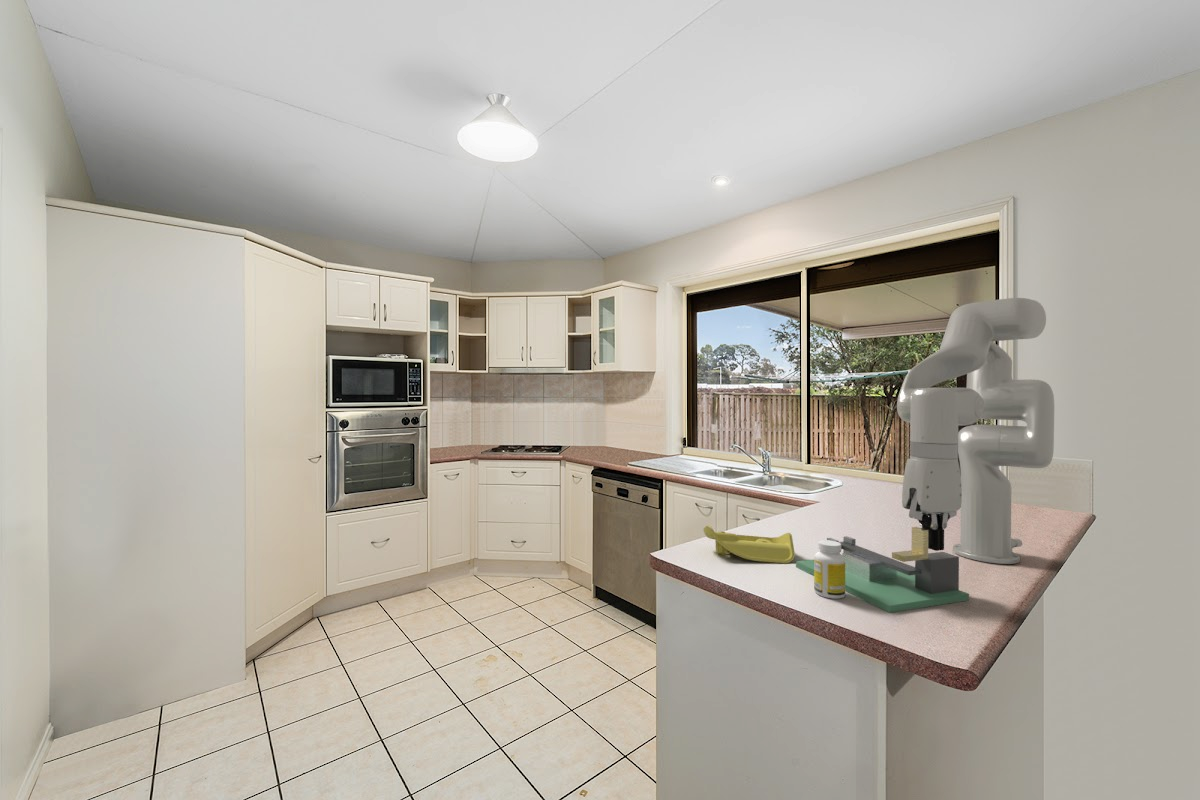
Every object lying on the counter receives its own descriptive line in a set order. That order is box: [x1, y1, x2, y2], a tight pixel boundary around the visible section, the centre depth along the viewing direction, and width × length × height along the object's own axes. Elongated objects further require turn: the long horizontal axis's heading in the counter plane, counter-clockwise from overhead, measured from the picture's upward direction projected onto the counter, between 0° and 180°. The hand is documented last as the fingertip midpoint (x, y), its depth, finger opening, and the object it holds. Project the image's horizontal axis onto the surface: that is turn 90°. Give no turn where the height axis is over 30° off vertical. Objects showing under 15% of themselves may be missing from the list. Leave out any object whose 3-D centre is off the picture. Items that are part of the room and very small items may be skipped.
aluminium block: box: [841, 552, 897, 581], centre depth 100 cm, size 7×7×4 cm
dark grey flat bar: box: [839, 541, 921, 575], centre depth 99 cm, size 3×18×1 cm, turn 17°
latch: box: [891, 526, 929, 563], centre depth 90 cm, size 6×2×5 cm, turn 107°
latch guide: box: [914, 551, 960, 594], centre depth 92 cm, size 7×3×6 cm, turn 107°
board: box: [795, 535, 970, 613], centre depth 98 cm, size 19×24×6 cm
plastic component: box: [702, 525, 796, 564], centre depth 115 cm, size 20×7×10 cm
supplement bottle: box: [813, 539, 846, 600], centre depth 92 cm, size 5×5×10 cm
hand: (932, 548), depth 91 cm, fingers closed
